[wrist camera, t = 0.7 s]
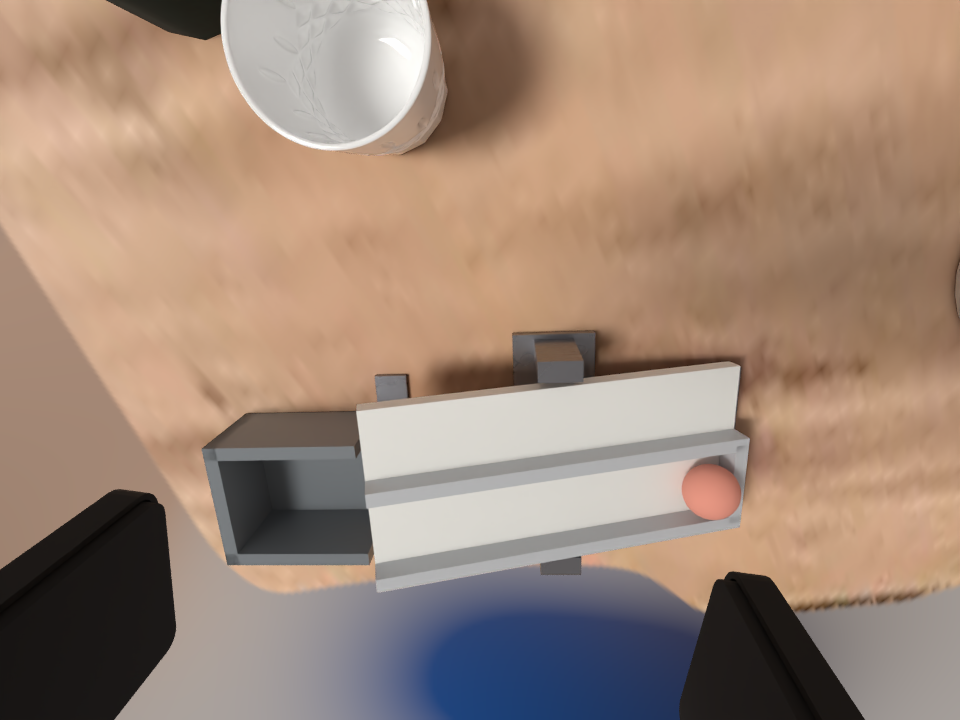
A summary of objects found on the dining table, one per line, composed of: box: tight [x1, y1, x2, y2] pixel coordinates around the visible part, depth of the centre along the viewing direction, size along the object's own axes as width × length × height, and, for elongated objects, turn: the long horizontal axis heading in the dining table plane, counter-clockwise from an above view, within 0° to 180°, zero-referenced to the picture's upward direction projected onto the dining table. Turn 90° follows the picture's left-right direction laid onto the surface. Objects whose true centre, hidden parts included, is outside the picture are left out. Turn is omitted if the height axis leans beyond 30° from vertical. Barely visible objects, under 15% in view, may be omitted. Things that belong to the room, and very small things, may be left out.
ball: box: [682, 464, 741, 520], centre depth 30 cm, size 3×3×3 cm
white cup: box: [221, 0, 448, 156], centre depth 24 cm, size 8×8×10 cm
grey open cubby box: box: [202, 411, 374, 565], centre depth 33 cm, size 9×8×5 cm
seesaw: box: [356, 361, 750, 593], centre depth 30 cm, size 22×10×2 cm, turn 93°
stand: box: [375, 331, 741, 575], centre depth 32 cm, size 23×14×5 cm, turn 93°
